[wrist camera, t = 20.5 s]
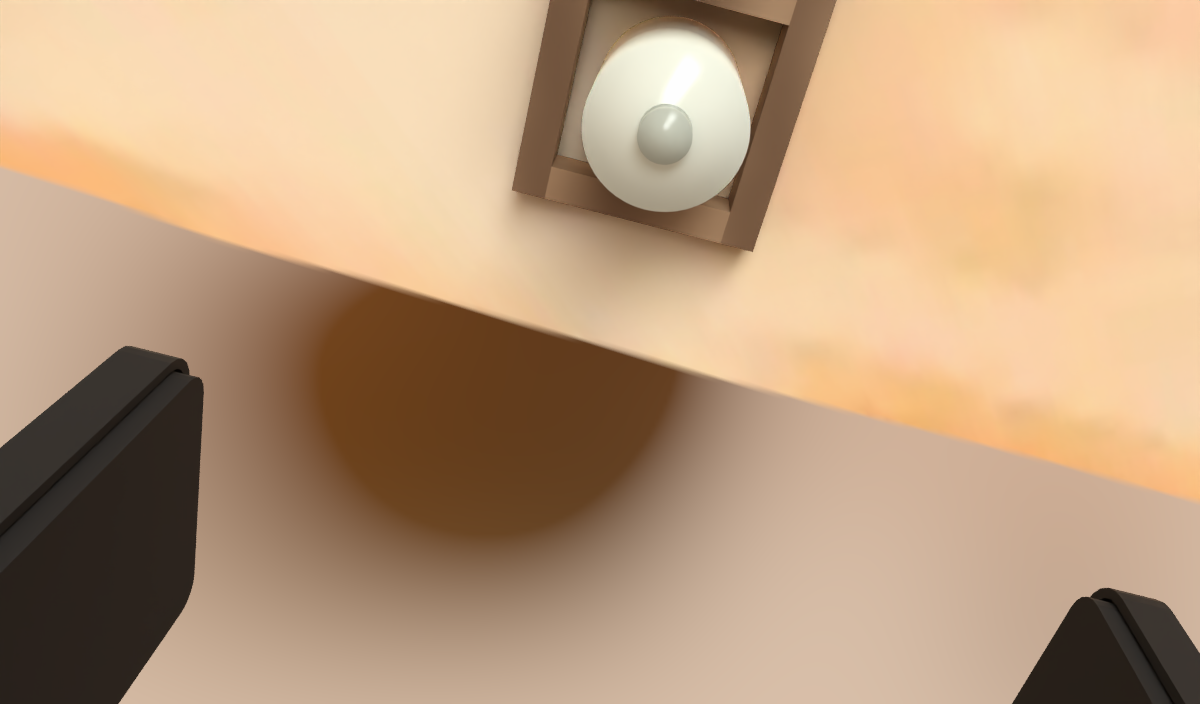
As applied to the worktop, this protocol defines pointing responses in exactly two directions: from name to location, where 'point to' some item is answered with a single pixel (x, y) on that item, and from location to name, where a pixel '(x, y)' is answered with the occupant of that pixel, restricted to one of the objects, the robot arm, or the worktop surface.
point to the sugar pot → (666, 116)
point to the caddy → (737, 220)
